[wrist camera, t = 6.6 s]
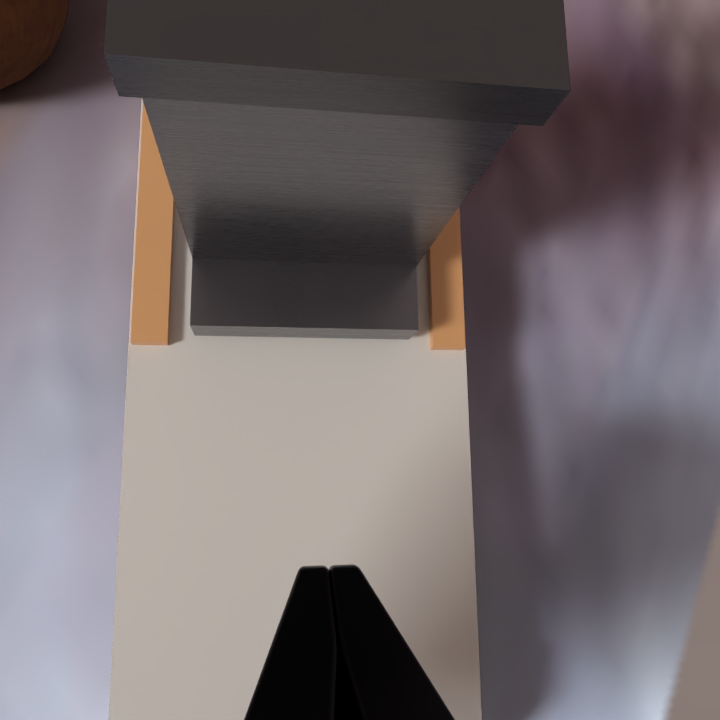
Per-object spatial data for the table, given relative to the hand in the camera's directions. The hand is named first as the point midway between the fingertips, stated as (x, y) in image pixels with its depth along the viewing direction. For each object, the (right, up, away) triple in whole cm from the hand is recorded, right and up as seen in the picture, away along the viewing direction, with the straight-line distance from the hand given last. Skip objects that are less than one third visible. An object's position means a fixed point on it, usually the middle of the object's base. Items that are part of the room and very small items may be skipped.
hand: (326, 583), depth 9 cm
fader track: (-1, +2, +8) cm, 8 cm away
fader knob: (-1, +7, +6) cm, 9 cm away
